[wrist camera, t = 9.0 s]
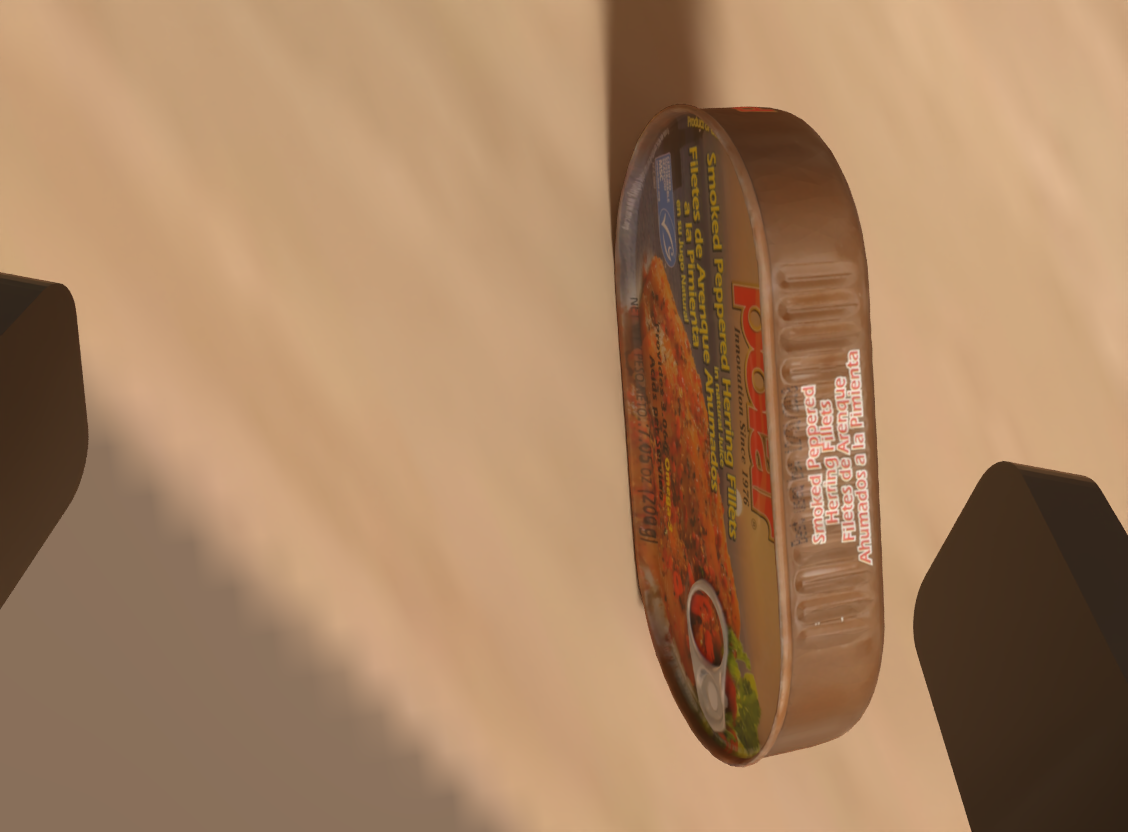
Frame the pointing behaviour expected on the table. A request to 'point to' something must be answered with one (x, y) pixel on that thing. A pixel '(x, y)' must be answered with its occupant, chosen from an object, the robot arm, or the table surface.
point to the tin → (751, 427)
